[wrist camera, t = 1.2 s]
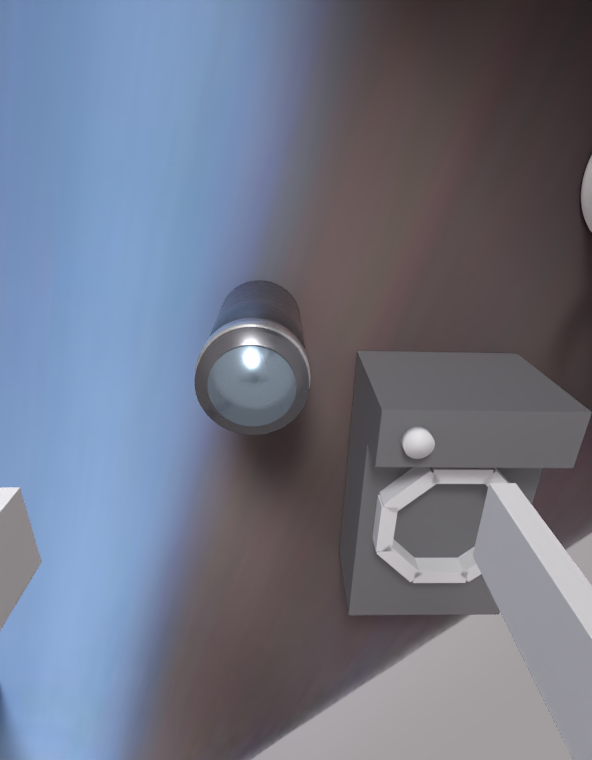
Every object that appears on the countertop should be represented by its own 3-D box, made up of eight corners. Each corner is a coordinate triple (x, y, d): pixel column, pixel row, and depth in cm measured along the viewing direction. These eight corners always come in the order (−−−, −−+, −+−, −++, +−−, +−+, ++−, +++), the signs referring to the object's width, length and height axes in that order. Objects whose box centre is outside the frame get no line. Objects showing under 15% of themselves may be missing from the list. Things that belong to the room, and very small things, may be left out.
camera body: (357, 350, 31) (384, 415, 23) (516, 353, 32) (599, 417, 24) (338, 552, 39) (354, 655, 31) (468, 552, 39) (518, 653, 31)
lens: (217, 277, 29) (187, 329, 20) (303, 279, 29) (314, 331, 20) (220, 358, 31) (195, 438, 22) (300, 359, 31) (309, 439, 22)
